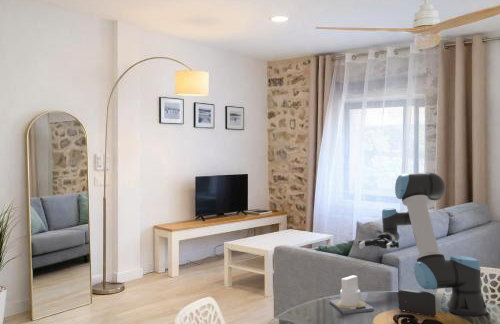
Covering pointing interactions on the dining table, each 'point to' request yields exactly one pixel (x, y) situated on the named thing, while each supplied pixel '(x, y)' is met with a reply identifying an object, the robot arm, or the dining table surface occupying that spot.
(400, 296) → the black two-tone rounded device
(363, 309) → the plate
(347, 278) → the base with upright slab
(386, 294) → the dining table surface
